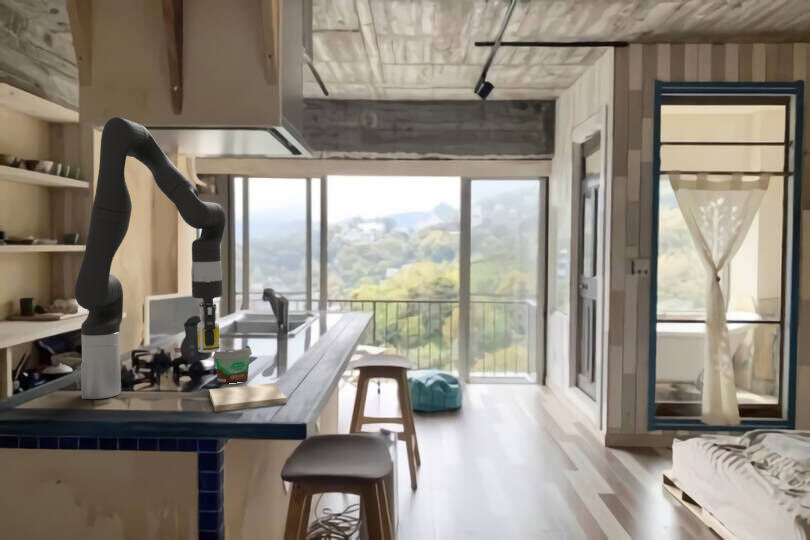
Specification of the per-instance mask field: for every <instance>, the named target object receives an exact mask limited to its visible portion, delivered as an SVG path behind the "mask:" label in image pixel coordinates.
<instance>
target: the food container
mask: <svg viewBox="0 0 810 540" xmlns="http://www.w3.org/2000/svg"><path fill="white" fill-rule="evenodd" d="M252 354H253V352H252V348H251V346H249V345H247V344H246V345H245V348H240V349H229V350H227V351H219V350H218V351H215V352H213V359H215V369H216V376H217V378H216V379H217V384H218V383H221V384H220V385H224V384H229V383H237V382H244V383H246V382H247V381H248V378H249V365H250V356H252Z"/></svg>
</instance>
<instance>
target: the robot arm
mask: <svg viewBox="0 0 810 540" xmlns="http://www.w3.org/2000/svg"><path fill="white" fill-rule="evenodd" d="M127 157H130V158H134V159H136V160H137V161H139V162H140V163H141V164H143V165H145V167H147V169H148V170H149V171H150V172H151V174H152V177H153V180H154V182H155V184H156V185H157V187H158V188H159V189H160V190H161V192H162V193H163V194H164V195H165V196H166V197H167V198H168V199H169V200H170V201H171V202H172V203H173V204H174V205H175V207H176V209H177V211H178V213H179V215H180V216H181V218H182V219H183V221H184V222H185V223H186V224H187V225H188V226H189V227H191V228H193V229H196V230H201V231H200V235H199V237H198V238H196V239H194V240H193V241H192V243H191V276H190V277H191V297H192V298H194V299H202V301H201V303H200V304H199V307H198V308H199V313H200V314H201V316H202V323H204V331H205V345H206V346H213V345H214V331H215V328H216V326H215V321H217V312H216V311H217V304H216V303H214V299H216V298H217V299H218V298H221V297H223V295H224V293H223V268H222V261H221V260H222V259H221V256H222V255H221V253H222V252H221V244H222V239H223V236H224V231H225V227H226V214H225V210H224V209H223V207H222V206H221V205H220V204H219V203H216V202H211V201H202V200H201V199H199V194H200V193H199V190H198V188H197V187H196V185H194V184H193V182H192V181H191V180H190V179H189V178H187V176H186V175H185V174H183V172H182V171H180V169H179V168H178V167H176V165H175V164H174V163H173V162H172V160H170V158H169V157H168V156H167V154H166V153H165V152H164V151H163V150H162V148H161V147H160V146H159V143H157V141H156V140H155V138H154V137H153V135H152V134H151V133H150V131H149V130H148V129H147V128H146V127H145V126H143V125H142V124H140V123H137V122H134V121H132V120H129V119H126V118H123V117H119V116H118V117H117V116H115V117H111V118H110V119H108V121H106V123H105V124H104V126H103V129H102V133H101V139H100V152H99V166H98V175H97V180H96V187H95V194H94V199H93V204H92V208H91V215H90V222H89V228H88V233H87V238H86V243H85V250H84V254H83V259H82V262H81V265H80V268H79V272H78V276H77V278H76V283H75V285H74V297H75V298H74V299H75V301H76V303H77V304H78V305H79V307H81V308H82V309H84V310H88V313H87V314H88V315H87V317H86V318H85V320H84V321H83V322H81V327H80V328H81V332H80V333H81V364H80V369H81V370H80V373H81V374H80V377H81V378H80V379H81V382H80V383H81V384H80V385H81V399H82V400H84V399H85V400H86V399H87V400H88V399H90V400H94V399H95V400H97V399H100V400H101V399H108V398H113V397H115V396H118V395H120V394H121V393H122V382H121V381H122V380H121V379H122V377H121V373H122V371H121V334H120V333H121V332H120V328H121V327H120V326H121V324H122V321H123V313H124V311H123V310H124V291H123V286H122V283H121V281H120V280H119V279H118V277H117V276H115V275H114V274H111V273H110V272H111V269H112V264H113V260H114V257H115V256H116V253H117V251H118V249H119V248H120V246H121V245H122V243H123V241H124V239H125V237H126V235H127V232H128V230H129V227H130V221H131V216H132V211H133V207H132V206H133V205H132V199H131V195H130V193H129V189H128V186H127V183H126V182H127V181H126V177H125V176H126V175H125V170H126V169H125V168H126V161H127ZM200 314H199V315H200ZM204 317H205V318H204ZM209 322H211V323H212V325H207V323H209Z"/></svg>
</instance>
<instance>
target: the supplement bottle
mask: <svg viewBox="0 0 810 540" xmlns="http://www.w3.org/2000/svg"><path fill="white" fill-rule="evenodd" d="M204 318H205V317H204ZM199 320H200V322H198V323H197V329H196V330H197V333H196V334H197V350H198V352H199V353H215V351H219V350H220V348H221V346H220V344H221V343H220V342H221V341H220V324H219V322H218V321H217V320H216V321H215V326H216V328H215V331H214V345H213V346H206V345H205V331H204V323H202V316H201V314H199ZM207 325H212V323H211V322H209V323H207Z"/></svg>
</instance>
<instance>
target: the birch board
mask: <svg viewBox="0 0 810 540" xmlns="http://www.w3.org/2000/svg"><path fill="white" fill-rule="evenodd" d="M208 392H210V395H209V398H210V401H211V404H212V406H213V409H214V412H219V411H220V412H221V411H232V410H240V409H241V410H242V409H247V408H248V409H249V408H257V407H265V406H266V407H267V406H275V405H274V404H276V405H281V404H280V403H285V404H287V402H288V400H287V396H286V395H285V394H284V393H283V392H282V391H281V389H280V387H278V385H277V384H276V383H275V382H272V383H271V382H270V383H262V384H261V383H259V384H250V385H243V386H242V385H240V386H229V387H221V388H211V389H208Z"/></svg>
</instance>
